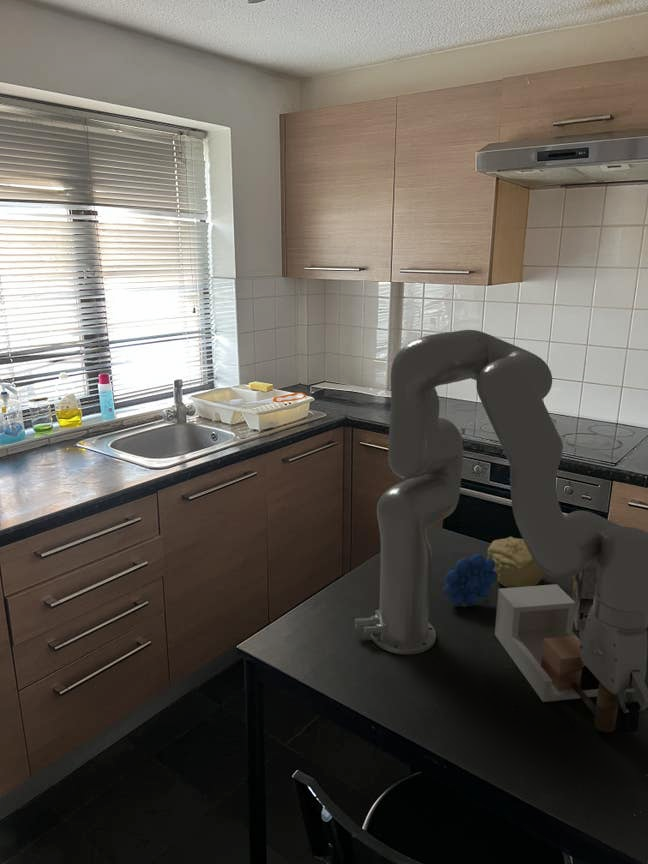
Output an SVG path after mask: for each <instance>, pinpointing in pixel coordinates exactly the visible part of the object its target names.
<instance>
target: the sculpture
mask: <svg viewBox="0 0 648 864" xmlns="http://www.w3.org/2000/svg"><path fill="white" fill-rule="evenodd" d="M489 558H490V559H493V560H494V561H495V568H494V569H493V571H496V572H497V575H498V578H497V581H496V582H498V583H499V584H501V585H502V586H503V587H505V588H514V587H527V586H538V584H539V583H540V581H542V578H543V577H544V574H545V572H544V571H543V570H542V569H541V568H540V567H539V566H538V565H537V564H536V562H535V561H534V559H533V558H532V556H531V554H530V552H529V550H528V548H527V546H526V544H525V542H524V540H523V538H517V537H513V536H509V537H506V538H501V539H500V538H499V539H495V540H493V541H492V542H491V544H490V546H488V548H487V557H486V559H489Z"/></svg>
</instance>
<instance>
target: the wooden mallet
mask: <svg viewBox="0 0 648 864" xmlns="http://www.w3.org/2000/svg"><path fill="white" fill-rule="evenodd" d="M578 638H579V637H578V636H577V635H576V636H567V637H556V638H545V639H544V643H543V652H542V661H541V667H542V668H543V669H544V671H545V672H546V673H547V675H548V676H549V677H550V678H551V680H552V684H553V685H554V686H555V687H556V689H557V690H563V689H574V690H575V691H576V692H577V694H578V695H579V696H580V697H581V698H580V699H581V700H582V701H583V702H584V704H585V705H586V706H587V708H588V709H589V710H590V711H591V713H593V715H594V720H593V725H594V727H595V728H597V730H599V731H601V732H603V733H612V732H614V731H616V730H615V724H616V717H617V710H618V708H619V704H620V701H619V697H618V694H612V693H611V692H609V691H608V690H607V689H606V688H605V687H604V686H603V685H602V683H601V682H600V681H599V689H598V696H596V703H594V702H593V701H592V700H591V699H590V697H588V696H587V695H586V694H585V693H584V692H583V690H582V689H581V688H580V681H581V673H582V667H584V666H582V664H581V657H580V645H581V643H580V640H579V639H580V638H579V639H578Z"/></svg>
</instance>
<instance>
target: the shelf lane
mask: <svg viewBox="0 0 648 864" xmlns="http://www.w3.org/2000/svg"><path fill="white" fill-rule="evenodd" d="M497 590H498V591H497V602H496V603H497V604H496V613H495V615H496V616H495V625H494V626H495V629H494V636H496V639H497V640H498V642H499V643H500V644H501V646H502V647H503V648H504V649H505V651H506V652H507V654H508V655H509V656H510V658H511V659H512V660H513V662H514V664H515V665H516V666H517V668H518V669H519V671H520V672H521V673H522V675H523V676H524V677H525V679H526V681H528V683H529V684H530V686H531V687H532V688H533V690H534V692H535V693H536V694H537V696H539V697H538V698H540V699H541V702H543V703H545V702H547V703H548V702H555V701H566V700H574V699H581V697H580V696H579V695H578V694H577V692H576V691H575V690H574V689H563V690H557V689H556V687H555V686H554V685H553V684H552V680H551V678H550V677H549V676H548V675H547V673H546V672H545V671H544V669H543V668H542V667H541V661H542V652H543V643H544V639H545V638H556V637H567V636H577V635H576V633H574V632H573V629H574V628H573V627H574V612H575V604H576V603H575V602H574V601H573V600H572V599H571V596H570V595H568V593H566V592H565V590H563V589H562V588H561V587H560V586H559V584H556V583H555V584H544V585H542V584H541V585H535V586H527V587H514V588H507V587H505V588H503V587H502V588H498V589H497ZM578 639H579V640H580V637H578ZM583 692H584V693H585V694H586V695H587V696H588V698H594V697H597V696H598V689H594V690H583Z"/></svg>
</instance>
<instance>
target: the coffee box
mask: <svg viewBox="0 0 648 864" xmlns="http://www.w3.org/2000/svg"><path fill="white" fill-rule="evenodd" d="M597 571H598V565H597V564H596V563H590V564H589V565H588V566H586V567H585V568H584V569H583V570H582V571H581V572H579V573H578V574H576V575H575V576H572V581H571V589H570V598H571V599H572V600H573V601H574V602H575V603H576V604H575V612H574V621H573V625H574V627H575V630H576V631H584V627H585V623H586V619H587V616H588V613H589V611H590V608H591V606H592V605H593V602H594V594H595V586H596V578H597Z"/></svg>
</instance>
